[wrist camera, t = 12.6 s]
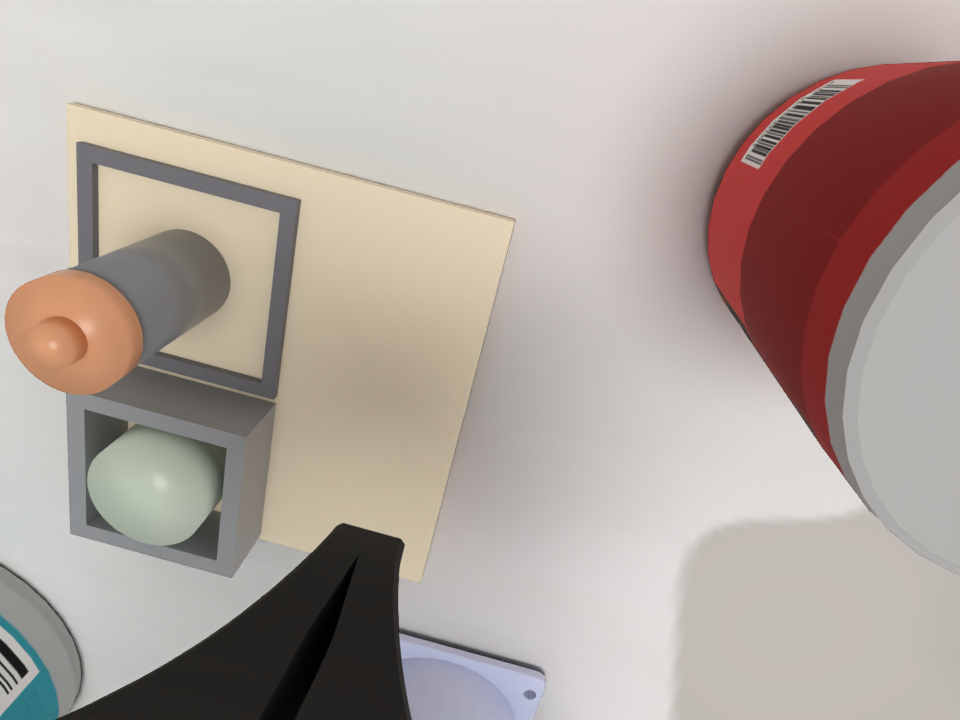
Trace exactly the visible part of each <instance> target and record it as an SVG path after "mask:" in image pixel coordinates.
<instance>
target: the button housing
mask: <svg viewBox="0 0 960 720" xmlns="http://www.w3.org/2000/svg"><path fill="white" fill-rule="evenodd" d="M66 403H67V436H68V470H69V503H70V534H74V535H77V536H81V537H84V538H88V539H92V540H95V541H99V542H103V543H106V544H110V545H113V546H117V547H121V548H124V549H128V550H132V551H135V552H139V553H143V554H146V555H150V556H153V557H157V558H161V559H164V560H168V561H172V562H175V563H179V564H182V565H186V566H190V567H193V568H197V569H201V570H204V571H208V572H212V573H215V574H219V575H222V576H226V577H230V578H232V577H233V575H234V574H235V572H236V571H237V569H238V568H239V566H240V565H241V563H242V562H243V560H244V559H245V557H246V556H247V554H248V553H249V551H250V550H251V548H252V547H253V545H254V544H255V542H256V541H257V539H258V538H259V536H260V533H261V525H262V516H263V508H264V500H265V492H266V484H267V476H268V467H269V459H270V451H271V443H272V435H273V426H274V418H275V410H276V403H273V402H270V401H266V400H262V399H259V398H255V397H251V396H248V395H244V394H240V393H236V392H233V391H229V390H225V389H222V388H218V387H214V386H211V385H207V384H203V383H200V382H196V381H192V380H188V379H185V378H181V377H177V376H174V375H170V374H166V373H163V372H159V371H155V370H152V369H148V368H144V367H141V366H136V367H135V368H134V369H133V370H132V371H131V372H130V373H129V374H127V375H126V376H125V377H123V378H122V379H120V380H119V381H117V382H116V383H114V384H113V385H111V386H110V387H108V388H107V389H105V390H103V391H101V392H98V393H95V394H90V395H75V394H70V393H66ZM128 421H129V422H133V423H137V424H140V425H144V426H148V427H151V428H155V429H159V430H162V431H166V432H170V433H173V434H177V435H181V436H184V437H188V438H192V439H195V440H199V441H203V442H206V443H210V444H214V445H217V446H221V447H225V448H227V450H226V462H225V473H224V484H223V495H222V506H221V512H219V511H215V510H212V512H211V513H210V514H209V515H208V517H207V518H206V519H205V520H204V521H203V523H202V524H201V525H200V526H199V528H198V529H197V530H196V531H195V533H194V534H193V535H191V536H190V537H189V538H188V539H186V540H184V541H182V542H180V543H177V544H173V545H150V544H146V543H142V542H139V541H136V540H134V539H131V538H129V537H127V536H126V535H124V534H122V533H120V532H119V531H118V530H116V529H115V528H114V527H112V526H111V525H110V524H109V523H108V522H107V521H106V520H105V519H104V518H103V517H102V516H101V514H100V513H99V512H98V510H97V509H96V507H95V506H94V504H93V502H92V500H91V497H90V494H89V490H88V485H87V475H88V470H89V467H90V465H91V463H92V461H93V460H94V458H95V457H96V456H97V455H98V454H99V453H100V452H102V451H103V450H104V449H105V448H107V447H108V446H109V445H110V444H112V443H113V442H114V441H115V440H117V439H118V438H119V437H120V436H121V435H123V434H124V433H125V432H126V431H128Z"/></svg>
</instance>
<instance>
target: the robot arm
mask: <svg viewBox="0 0 960 720" xmlns="http://www.w3.org/2000/svg"><path fill="white" fill-rule="evenodd" d="M404 547H405V544H404V542H403V541H402V539H401V538H397V537H393V536H390V535H386V534H382V533H379V532H375V531H371V530H368V529H364V528H360V527H357V526H353V525H349V524H346V523H341V524H339V525H337V526H336V527H335V528H334V529H333V530H332V532H331V533H330V534H329V535H328V536H327V537H326V538H325V539H324V540H323V541H322V542H321V543H320V545H319V546H318V547H317V548H316V549H315V550H314V551H313V552H312V553H311V554H310V555H309V556H307V557H306V558H305V559H304V560H303V561H302V562H301V563H300V564H299V565H298V566H297V567H296V568H295V569H294V570H293V571H291V572H290V573H289V574H288V575H287V576H286V577H285V578H284V579H282V580H281V581H280V582H279V583H278V584H277V585H276V586H275V587H273V588H272V589H271V590H270V591H269V592H267V593H266V594H265V595H264V596H262V597H261V598H260V599H259V600H257V601H256V602H255V603H254V604H252V605H251V606H250V607H249V608H247V609H246V610H245V611H244V612H242V613H241V614H240V615H238V616H237V617H236V618H234V619H233V620H232V621H230V622H229V623H228V624H226V625H225V626H223V627H222V628H221V629H219V630H218V631H216V632H215V633H213V634H212V635H210V636H209V637H207V638H206V639H204V640H203V641H201V642H200V643H198V644H197V645H195V646H194V647H192V648H191V649H189V650H187V651H186V652H184V653H182V654H181V655H179V656H178V657H176V658H174V659H173V660H171V661H169V662H168V663H166V664H164V665H163V666H161V667H159V668H158V669H156V670H154V671H152V672H151V673H149V674H147V675H145V676H143V677H142V678H140V679H138V680H136V681H134V682H132V683H130V684H128V685H126V686H124V687H122V688H120V689H118V690H116V691H114V692H112V693H110V694H108V695H106V696H104V697H103V698H101V699H99V700H97V701H95V702H93V703H91V704H89V705H86V706H84V707H82V708H80V709H78V710H76V711H73V712H71V713H69V714H66V715H64V716H62V717H59V718H57V719H55V720H533V718H534V715H535V713H536V710H537V708H538V705H539V703H540V700H541V698H542V695H543V693H544V690H545V684H546V679H545V677H544V675H543V674H542V673H540V672H538V671H535V670H532V669H528V668H524V667H521V666H517V665H513V664H510V663H506V662H502V661H499V660H495V659H492V658H488V657H484V656H481V655H477V654H473V653H470V652H466V651H463V650H459V649H455V648H452V647H448V646H444V645H441V644H437V643H434V642H430V641H426V640H423V639H419V638H415V637H412V636H408V635H405V634H401V633H399V617H398V583H399V570H400V564H401V560H402V555H403V551H404ZM528 690H532V691H528Z"/></svg>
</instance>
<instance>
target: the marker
mask: <svg viewBox="0 0 960 720" xmlns="http://www.w3.org/2000/svg"><path fill="white" fill-rule="evenodd" d="M229 292H230V274H229V270H228V267H227V264H226V262H225V260H224V258H223V256H222V255H221V253H220V252H219V251H218V249H217V248H216V247H215V246H214V245H213V244H212V243H211V242H209V241H208V240H207V239H206V238H204V237H202V236H201V235H199V234H197V233H194V232H191V231H188V230H183V229H171V230H167V231H164V232H161V233H159V234H156V235H154V236H151V237H149V238H146V239H144V240H141V241H138V242H136V243H133V244H131V245H128V246H126V247H123V248H121V249H118V250H115V251H113V252H110V253H108V254H105V255H103V256H100V257H97V258H95V259H92V260H90V261H87V262H85V263H82V264H80V265H77V266H74V267H72V268H69V269H67V270H61V271H56V272H53V273H51V274H48V275H46V276H43V277H40V278H38V279H35V280H33V281H30V282H27V283H25V284H24V285H22V286H20V287H19V288H18V289H17V290H16V291H15V292H14V293H13V294H12V296H11V297H10V299H9V301H8V304H7V307H6V312H5V327H6V332H7V336H8V339H9V342H10V344H11V347H12V348H13V350H14V352H15V354H16V355H17V357H18V358H19V360H20V361H21V362H22V364H23V365H24V366H25V367H26V368H27V369H28V370H29V371H30V372H31V373H32V374H33V375H34V376H35V377H37V378H38V379H39V380H41V381H42V382H44V383H45V384H47V385H49V386H50V387H52V388H55V389H57V390H59V391H62V392H65V393H70V394H75V395H90V394H95V393H98V392H101V391H103V390H105V389H107V388H108V387H110V386H111V385H113V384H114V383H116V382H117V381H119V380H120V379H122V378H123V377H125V376H126V375H127V374H129V373H130V372H131V371H132V370H133V369H134V368H135V367H136V366H137V365H139V364H140V363H142V362H143V361H145V360H146V359H148V358H149V357H150V356H152V355H153V354H155V353H156V352H158V351H159V350H161V349H162V348H164V347H165V346H167V345H168V344H170V343H171V342H173V341H174V340H176V339H177V338H178V337H180V336H181V335H183V334H184V333H186V332H187V331H189V330H190V329H192V328H193V327H195V326H196V325H198V324H199V323H201V322H202V321H203V320H205V319H206V318H208V317H209V316H211V315H212V314H214V313H215V312H217V311H218V310H219V309H220V308H221V307H222V306H223V305H224V303H225V302H226V300H227V298H228V295H229Z"/></svg>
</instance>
